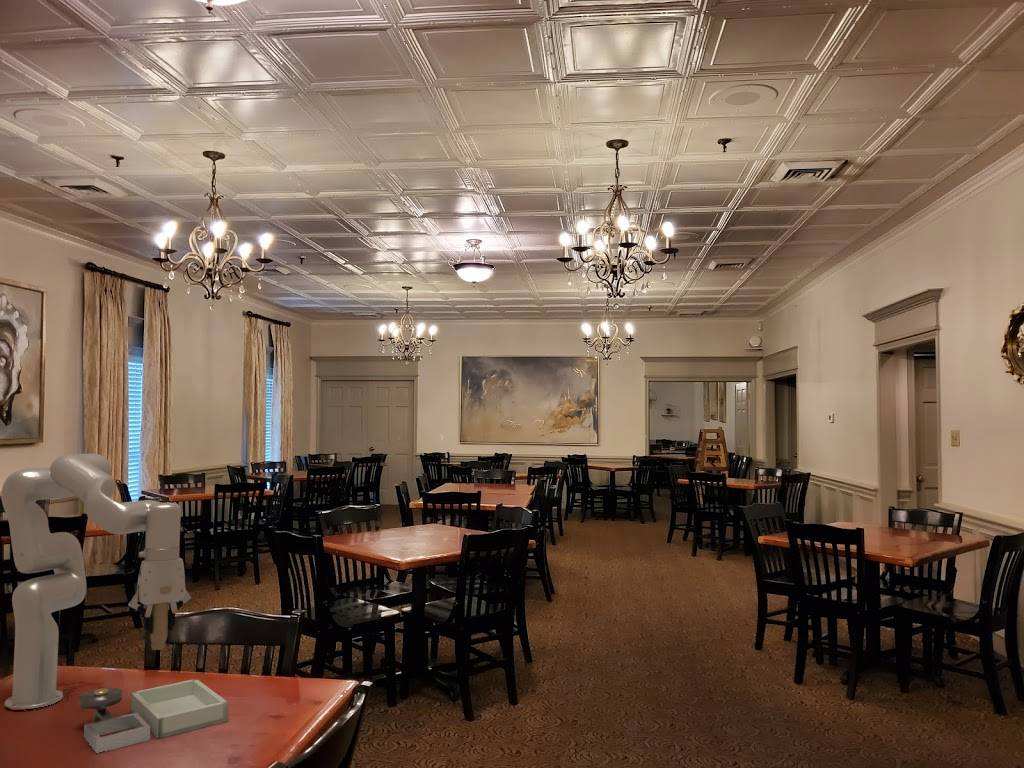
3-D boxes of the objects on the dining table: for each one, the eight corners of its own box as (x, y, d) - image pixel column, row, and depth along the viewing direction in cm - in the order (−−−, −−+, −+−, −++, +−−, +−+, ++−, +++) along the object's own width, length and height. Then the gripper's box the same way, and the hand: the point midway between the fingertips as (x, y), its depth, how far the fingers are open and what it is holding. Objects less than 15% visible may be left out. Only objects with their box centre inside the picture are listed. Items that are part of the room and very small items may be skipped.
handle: (159, 653, 175) (162, 588, 176) (140, 649, 178) (142, 586, 179) (176, 647, 180) (178, 584, 181) (157, 644, 182) (159, 582, 183)
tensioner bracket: (73, 724, 177) (75, 689, 178) (124, 713, 185) (125, 679, 185) (95, 753, 162) (97, 715, 162) (149, 740, 169) (151, 703, 169)
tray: (130, 710, 186) (130, 692, 186) (195, 696, 197) (196, 678, 197) (157, 739, 170) (158, 718, 170) (227, 721, 180) (228, 702, 181)
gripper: (128, 560, 172) (124, 640, 171) (202, 553, 183) (199, 628, 182) (120, 555, 178) (117, 633, 177) (193, 549, 188) (190, 622, 187)
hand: (159, 630), depth 179 cm, fingers closed on handle, 4 cm apart
